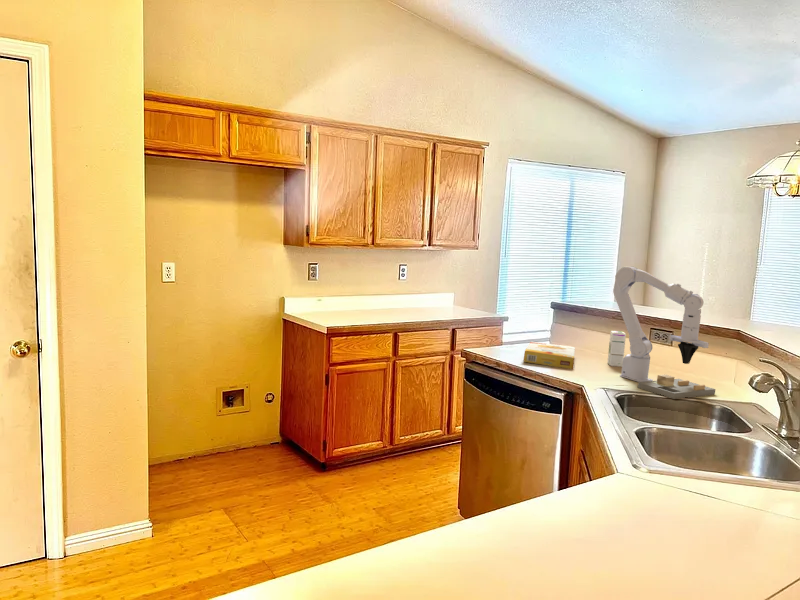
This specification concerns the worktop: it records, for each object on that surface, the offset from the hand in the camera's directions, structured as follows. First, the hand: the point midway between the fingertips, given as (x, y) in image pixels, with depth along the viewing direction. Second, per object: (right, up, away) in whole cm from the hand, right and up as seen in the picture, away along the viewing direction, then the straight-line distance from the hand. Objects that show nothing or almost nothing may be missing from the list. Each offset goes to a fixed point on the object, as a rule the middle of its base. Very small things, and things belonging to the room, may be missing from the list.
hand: (685, 363), depth 218 cm
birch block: (-9, -7, -4) cm, 12 cm away
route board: (-6, -10, -5) cm, 12 cm away
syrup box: (-14, -5, +35) cm, 38 cm away
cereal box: (-41, -3, +37) cm, 56 cm away
